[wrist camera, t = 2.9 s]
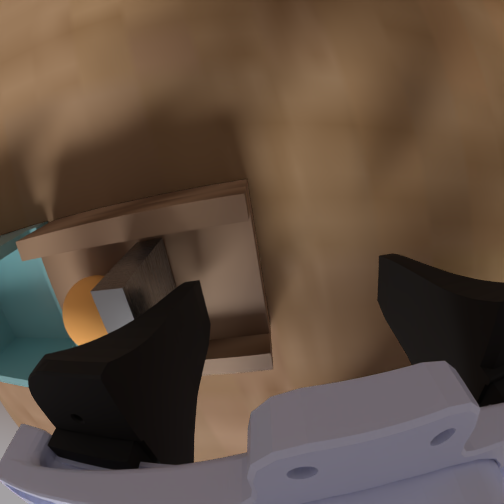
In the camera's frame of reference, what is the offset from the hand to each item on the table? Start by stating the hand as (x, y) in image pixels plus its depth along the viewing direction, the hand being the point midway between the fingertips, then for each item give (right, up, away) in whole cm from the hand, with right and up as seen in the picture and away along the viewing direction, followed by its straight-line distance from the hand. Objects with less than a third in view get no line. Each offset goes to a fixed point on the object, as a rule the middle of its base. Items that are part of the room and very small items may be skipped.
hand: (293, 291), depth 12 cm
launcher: (-7, 0, +4) cm, 8 cm away
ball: (-8, -1, 0) cm, 8 cm away
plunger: (-6, 0, +2) cm, 6 cm away
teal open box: (-17, -1, +5) cm, 17 cm away
